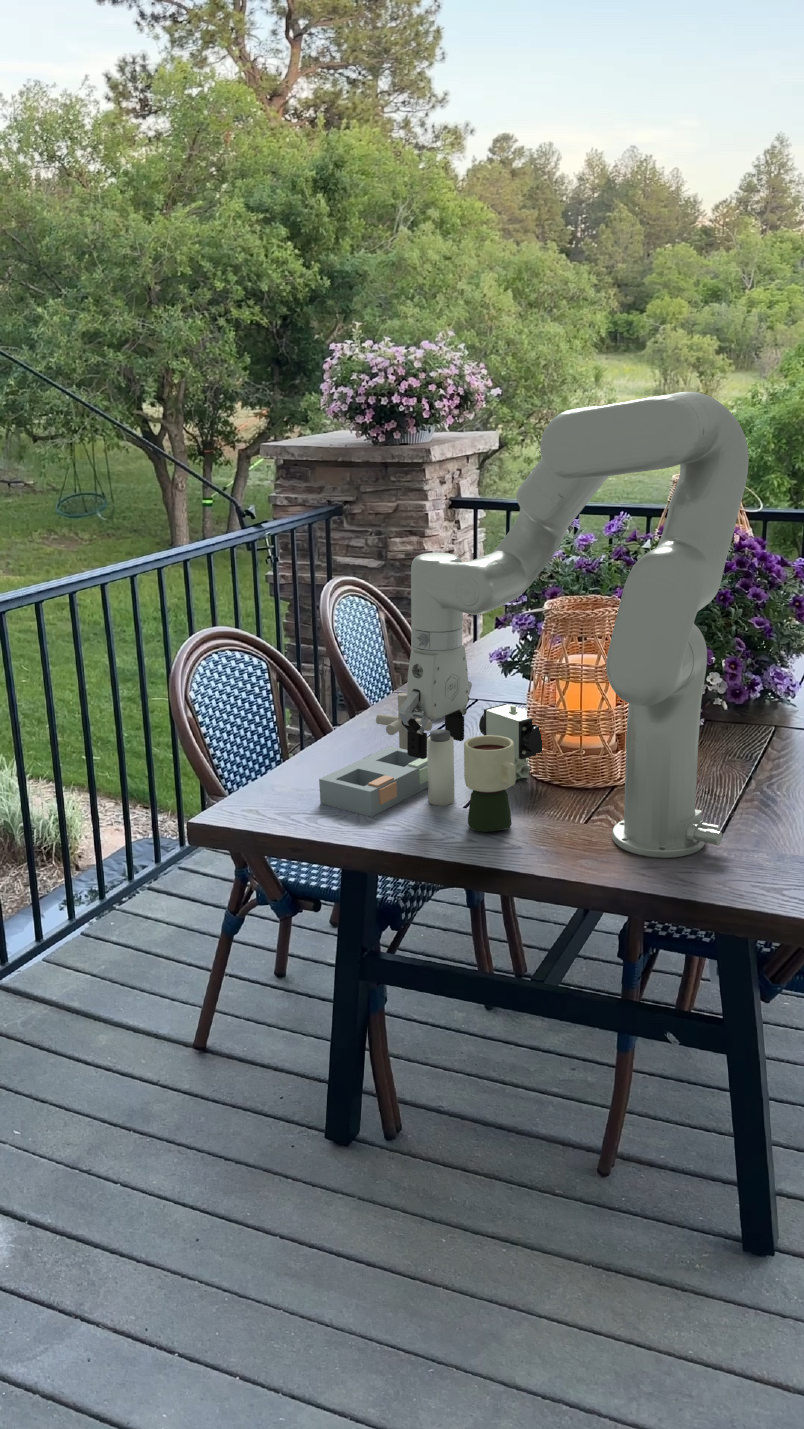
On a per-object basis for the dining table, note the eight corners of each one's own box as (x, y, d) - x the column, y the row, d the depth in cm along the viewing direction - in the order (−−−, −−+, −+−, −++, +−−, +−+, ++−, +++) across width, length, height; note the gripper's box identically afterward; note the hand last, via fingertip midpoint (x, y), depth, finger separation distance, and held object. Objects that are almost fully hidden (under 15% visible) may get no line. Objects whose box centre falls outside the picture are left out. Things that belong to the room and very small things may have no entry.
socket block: (442, 780, 187) (442, 755, 185) (372, 817, 173) (371, 790, 172) (391, 769, 193) (390, 744, 191) (320, 803, 179) (318, 777, 178)
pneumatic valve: (527, 790, 182) (527, 717, 178) (478, 770, 191) (477, 700, 187) (553, 782, 185) (553, 709, 181) (503, 763, 194) (503, 694, 190)
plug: (459, 799, 179) (458, 731, 176) (444, 807, 176) (443, 738, 173) (438, 793, 181) (436, 726, 178) (423, 802, 178) (421, 733, 175)
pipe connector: (443, 744, 204) (442, 689, 201) (417, 762, 195) (415, 705, 192) (392, 737, 208) (391, 683, 205) (365, 754, 200) (363, 698, 197)
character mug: (533, 833, 166) (533, 747, 162) (494, 846, 162) (494, 758, 158) (485, 810, 174) (484, 728, 170) (447, 822, 170) (445, 738, 166)
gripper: (422, 655, 162) (422, 769, 168) (490, 630, 176) (488, 737, 181) (380, 646, 167) (381, 758, 172) (449, 623, 180) (448, 728, 185)
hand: (436, 747), depth 176 cm, fingers open, 9 cm apart
